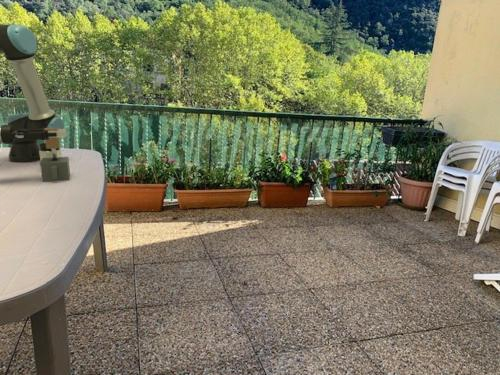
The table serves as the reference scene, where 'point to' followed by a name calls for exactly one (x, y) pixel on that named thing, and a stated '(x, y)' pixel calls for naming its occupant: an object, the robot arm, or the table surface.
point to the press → (55, 169)
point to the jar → (48, 152)
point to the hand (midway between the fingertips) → (65, 133)
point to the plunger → (52, 143)
